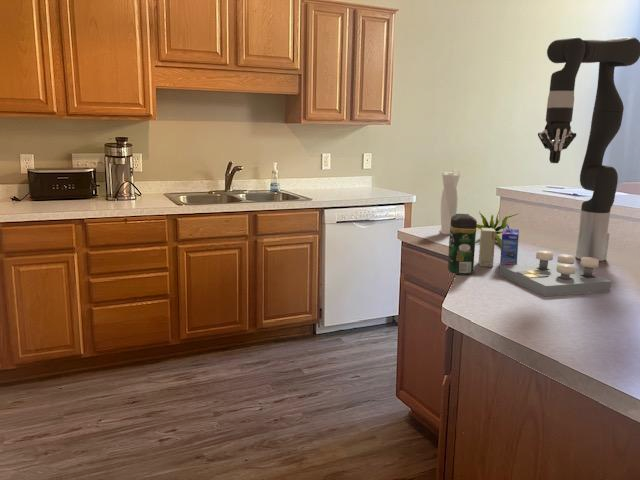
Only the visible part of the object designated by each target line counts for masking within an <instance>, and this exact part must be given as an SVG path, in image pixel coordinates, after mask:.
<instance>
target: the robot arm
mask: <svg viewBox="0 0 640 480" xmlns="http://www.w3.org/2000/svg"><path fill="white" fill-rule="evenodd" d="M546 56H547V58H548V59H549V61H550V62H551V63H553V64H564V66H563V68H562V69H559V70H556V71H554V72H552V74H551V76H550V82H549V92H548V97H547V103H546V114H545V123H546V124H545V126H544V129H543V130H542V131H541V132H538V133H537V136H538V138H539V140H540V142H541V143H542V145H543V147H544V149H547V150H549V163H550V164H559V162H560V161H561V153H562V151H563V150H567V149H568V147H569V146H570V145H571V143H572V142H573V141H574V140H575V138H576V137H577V133H576V132H573V131H572V127H571V122H572V121H573V114H574V112H573V111H574V103H575V89H576V88H575V87H576V79H577V75H578V72H579V69H580V67H581V64H589V63H590V64H592V63H593V64H594V63H598V74H597V75H598V76H597V86H596V87H597V88H596V93H595V100H594V104H593V105H594V106H593V111H592V116H591V122H590V123H591V124H590V130H589V136H588V141H587V146H586V151H585V155H584V158H583V163H582V166H581V169H580V174H579V183H580V186H581V187H582V189H584V190H586V191H589V192H590V191H591V192H593V193H592V196H591V198H590V199H589V200H585V201H583V202H582V204H581V207H580V208H581V209H580V216H579V217H580V218H579V224H578V225H579V226H578V233H577V234H578V235H577V241H576V249H575V258H577V259H579V260H581V258H582V257H592V258H597V259H599V262H603V261H605V260H607V257H608V250H609V240H610V236H611V235H610V233H609V224H610V217H611V216H610V215H611V209H612V207H613V205H614V202H615V199H616V193H617V187H618V182H619V181H618V180H619V175H618V171H617V170H616V168H614V167H613V166H610V165H604V164H603V162H604V157H605V152H606V150H607V148H608V146H609V145H610V144H611V142H612V141H613V139H614V138H615V137H616V136H617V134H618V132H619V131H620V128H621V126H622V121H623V116H624V111H625V110H624V109H625V108H624V107H625V106H624V102H623V100H622V98H621V95H620V93H619V91H618V90H617V87H616V85H615V67H617V68H619V67H629V66H632V65H634V64H636V63H637V62H638V60H640V40H639V39H638V38H636V37H633V36H626V37H625V36H623V37H622V36H621V37H614V38H613V37H612V38H607V39H606V40H604V39H592V38H589V39H588V38H583V39H582V38H581V37H579V36H576V37H575V36H574V37H566V38H558V39H555V40H553V41H551V42H550V44H549V45H548V47H547V49H546Z"/></svg>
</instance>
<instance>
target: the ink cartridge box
mask: <svg viewBox="0 0 640 480" xmlns="http://www.w3.org/2000/svg"><path fill="white" fill-rule="evenodd" d="M502 231H503V232H502ZM502 231H501V232H502V233H501V240H502V241H501V246H500V261H499V262H500V263H499V270H501V266H507V265H518V255H519V237H520V229H518V228H510V226H509V224H508V223H506V228H503V229H502Z"/></svg>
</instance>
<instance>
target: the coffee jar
mask: <svg viewBox="0 0 640 480" xmlns="http://www.w3.org/2000/svg"><path fill="white" fill-rule="evenodd" d="M477 224H478V222H477V219H476V218H475V217H473V216H472V215H470V214H469V213H456V215H454V216H452V217H451V223H450V235H449V238H448V239H449V240H448V256H447V269H448V271H449V273H452V274H456V275H460V276H465V275H472V274H473V273H474V267H475V266H474V264H475V251H476V249H475V248H476V237H477V229H478V228H477Z"/></svg>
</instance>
